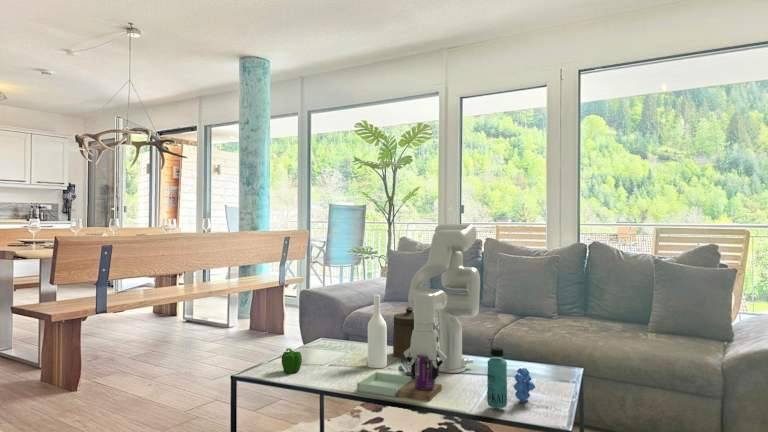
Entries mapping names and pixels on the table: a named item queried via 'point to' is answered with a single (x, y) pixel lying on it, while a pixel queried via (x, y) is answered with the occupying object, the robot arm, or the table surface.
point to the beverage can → (424, 373)
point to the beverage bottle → (497, 380)
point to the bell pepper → (291, 361)
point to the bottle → (377, 338)
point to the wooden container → (402, 332)
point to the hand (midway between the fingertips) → (425, 376)
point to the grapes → (523, 384)
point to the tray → (383, 384)
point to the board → (418, 392)
